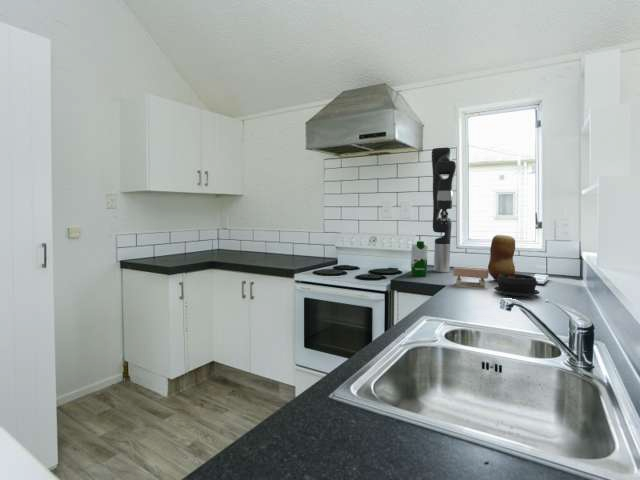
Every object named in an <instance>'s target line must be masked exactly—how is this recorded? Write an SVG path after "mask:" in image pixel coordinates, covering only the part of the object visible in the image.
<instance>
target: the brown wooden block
mask: <svg viewBox="0 0 640 480" xmlns="http://www.w3.org/2000/svg"><path fill="white" fill-rule="evenodd" d="M452 275H453V277H458V276H460V277H461V278H462V277H463V278H474V279H476V278H477V279H481V278H484V280H485V279H486V280H487V279H488V278H489V271H488V268H487V269H486V268H485V269H483V268H471V267H459V266H454V267H453V273H452Z"/></svg>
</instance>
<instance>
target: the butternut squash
mask: <svg viewBox="0 0 640 480" xmlns="http://www.w3.org/2000/svg"><path fill="white" fill-rule="evenodd" d="M515 250H516V240H515V238H514V237H513V236H511V235H506V234H505V235H504V234H496V235H494V236H493V238H492V239H491V244H490V249H489V253H490V259H489V261H488V265H487V270H488V274H489V275H490V276H491V278H492V279H494V281H496V282H497V283H498V281H497V280H496V279H497V278H498V277H499V275H500V274H516V266H515V263H514V260H513V259H514V255H515Z"/></svg>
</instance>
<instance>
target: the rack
mask: <svg viewBox="0 0 640 480" xmlns="http://www.w3.org/2000/svg"><path fill="white" fill-rule="evenodd" d="M478 279H479V280H478V281H477V282H476V281H466V280H465V281H463V280H462V276H456V287H461V288H462V287H463V288H464V287H465V288H475V289H476V288H478V289H485V288H486V281H485V278H478Z"/></svg>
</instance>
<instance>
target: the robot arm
mask: <svg viewBox="0 0 640 480" xmlns="http://www.w3.org/2000/svg"><path fill="white" fill-rule="evenodd" d="M431 166H432V205H433V206H432V207H433V209H432V210H433V211H432V230H433V232H434V233H439V234H440V233H443V234H444V235H442V236H440V237H438V238H435V239H434V254H433V255H434V256H433V257H434V258H433V271H434V272H437V273H450V263H451V262H450V261H451V259H450V257H451V238H452V237H451V235H452V226H453V225H452V224H453V223H452V219H451V217H450V218H449V217H448V216H449V212H448V210H452V208H453V181H454V176H455V174H456V170H457V163H456V161H454V160H452V150H451V148H450V147H447V146H446V147H445V146H444V147H437V148H436V147H435V148H432V150H431ZM446 175H447V176H448V177H446V178H445V177H444V176H446Z"/></svg>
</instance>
